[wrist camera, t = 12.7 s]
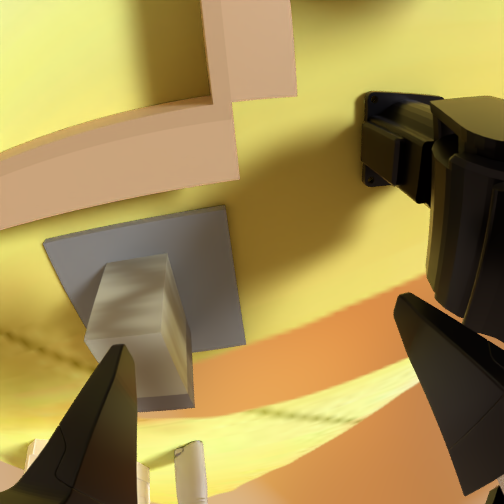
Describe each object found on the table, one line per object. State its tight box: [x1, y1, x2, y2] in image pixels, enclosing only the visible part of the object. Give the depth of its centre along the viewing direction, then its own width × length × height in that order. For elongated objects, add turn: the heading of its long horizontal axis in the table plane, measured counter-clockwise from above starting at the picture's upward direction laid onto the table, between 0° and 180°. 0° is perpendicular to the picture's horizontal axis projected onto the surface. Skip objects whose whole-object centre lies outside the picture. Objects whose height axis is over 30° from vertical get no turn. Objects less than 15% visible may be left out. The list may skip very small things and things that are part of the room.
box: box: [84, 253, 195, 412], centre depth 20 cm, size 4×8×7 cm, turn 5°
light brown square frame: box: [0, 0, 297, 230], centre depth 10 cm, size 23×23×4 cm
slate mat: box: [43, 205, 246, 353], centre depth 23 cm, size 13×13×1 cm
